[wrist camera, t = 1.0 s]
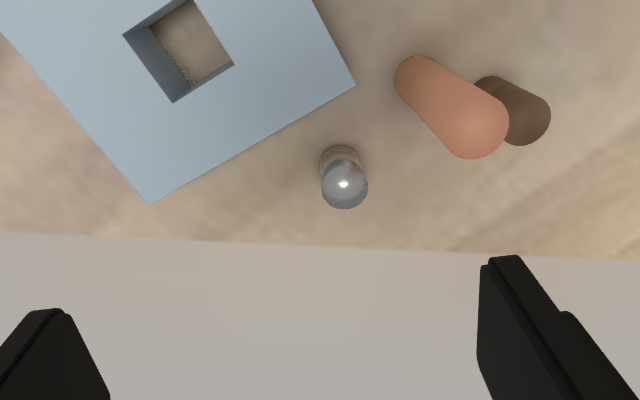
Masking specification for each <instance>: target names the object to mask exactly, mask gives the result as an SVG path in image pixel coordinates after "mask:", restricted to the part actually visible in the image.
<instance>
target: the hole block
mask: <svg viewBox="0 0 640 400" xmlns="http://www.w3.org/2000/svg"><path fill="white" fill-rule="evenodd" d="M186 1H187V0H0V32H1V33H2V34H3V35H4V36H5V37H6V39H7V40H8V41H9V42H10V43H11V44H12V46H13V47H14V48H15V49H16V50H17V52H18V53H19V54H20V55H21V56H22V57H23V59H24V60H25V61H26V62H27V63H28V64H29V66H30V67H31V68H32V69H33V70H34V72H35V73H36V74H37V75H38V76H39V77H40V79H41V80H42V81H43V82H44V83H45V84H46V86H47V87H48V88H49V89H50V90H51V91H52V93H53V94H54V95H55V96H56V97H57V99H58V100H59V101H60V102H61V103H62V104H63V106H64V107H65V108H66V109H67V110H68V111H69V113H70V114H71V115H72V116H73V117H74V119H75V120H76V121H77V122H78V123H79V124H80V126H81V127H82V128H83V129H84V130H85V131H86V133H87V134H88V135H89V136H90V137H91V139H92V140H93V141H94V142H95V143H96V144H97V146H98V147H99V148H100V149H101V150H102V151H103V153H104V154H105V155H106V156H107V157H108V159H109V160H110V161H111V162H112V163H113V164H114V166H115V167H116V168H117V169H118V170H119V171H120V173H121V174H122V175H123V176H124V177H125V179H126V180H127V181H128V182H129V183H130V184H131V186H132V187H133V188H134V189H135V190H136V191H137V193H138V194H139V195H140V196H141V197H142V199H143V200H144V201H145V202H146V203H147V204H148V205H150V204H152V203H153V202H155V201H157V200H158V199H160V198H162V197H164V196H165V195H167V194H169V193H171V192H172V191H174V190H176V189H178V188H179V187H181V186H183V185H184V184H186V183H188V182H190V181H191V180H193V179H195V178H197V177H198V176H200V175H202V174H204V173H205V172H207V171H209V170H210V169H212V168H214V167H216V166H217V165H219V164H221V163H223V162H224V161H226V160H228V159H230V158H231V157H233V156H235V155H236V154H238V153H240V152H242V151H243V150H245V149H247V148H249V147H250V146H252V145H254V144H256V143H257V142H259V141H261V140H262V139H264V138H266V137H268V136H269V135H271V134H273V133H275V132H276V131H278V130H280V129H282V128H283V127H285V126H287V125H288V124H290V123H292V122H294V121H295V120H297V119H299V118H301V117H302V116H304V115H306V114H308V113H309V112H311V111H313V110H314V109H316V108H318V107H320V106H321V105H323V104H325V103H327V102H328V101H330V100H332V99H334V98H335V97H337V96H339V95H341V94H342V93H344V92H346V91H347V90H349V89H351V88H353V87H354V86H356V83H355V81H354V79H353V77H352V75H351V73H350V72H349V70H348V68H347V66H346V64H345V62H344V60H343V58H342V56H341V55H340V53H339V51H338V49H337V47H336V45H335V43H334V41H333V40H332V38H331V36H330V34H329V32H328V30H327V28H326V26H325V24H324V23H323V21H322V19H321V17H320V15H319V13H318V11H317V9H316V7H315V6H314V4H313V2H312V0H194V2H195V3H196V5H197V7H198V8H199V10H200V11H201V13H202V14H203V16H204V17H205V19H206V21H207V22H208V24H209V25H210V27H211V28H212V30H213V31H214V33H215V35H216V36H217V38H218V39H219V41H220V42H221V44H222V45H223V47H224V49H225V50H226V52H227V53H228V55H229V56H230V58H231V60H232V61H230V62H229V63H227V64H225V65H224V66H222V67H221V68H219V69H217V70H216V71H214V72H213V73H211V74H209V75H208V76H206V77H205V78H203V79H201V80H200V81H198V82H197V83H195V84H193V85H192V86H190V85H189V84H188V82H187V81H186V79H185V78H184V77H183V75H182V74H181V72H180V71H179V69H178V68H177V67H176V65H175V64H174V62H173V61H172V59H171V58H170V57H169V55H168V54H167V52H166V51H165V49H164V48H163V47H162V45H161V44H160V42H159V41H158V39H157V38H156V37H155V35H154V34H153V32H152V31H151V30H150V28H149V27H148V26H150V25H151V24H153V23H154V22H156V21H157V20H159V19H160V18H162V17H163V16H165V15H166V14H168V13H169V12H171V11H172V10H174V9H175V8H177V7H178V6H180V5H181V4H183V3H184V2H186Z"/></svg>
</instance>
